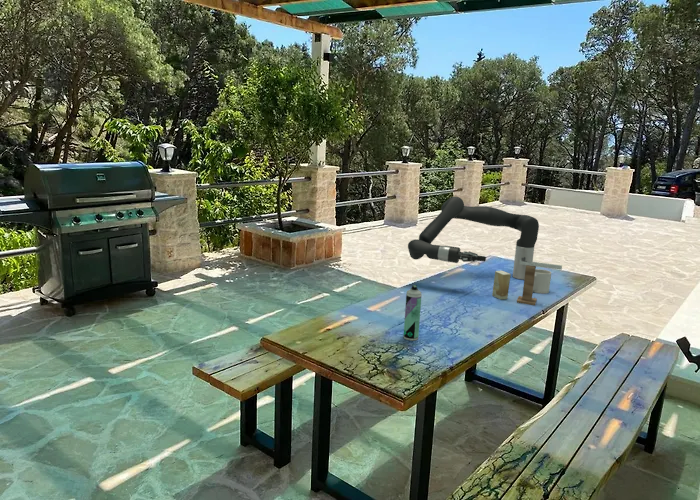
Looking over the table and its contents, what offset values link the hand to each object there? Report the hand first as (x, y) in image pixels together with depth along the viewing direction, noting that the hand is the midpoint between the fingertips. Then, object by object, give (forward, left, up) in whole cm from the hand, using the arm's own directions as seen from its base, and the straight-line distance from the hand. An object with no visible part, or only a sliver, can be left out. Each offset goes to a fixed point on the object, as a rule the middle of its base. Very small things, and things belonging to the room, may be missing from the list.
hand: (485, 259), depth 253 cm
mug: (-21, +23, -18) cm, 36 cm away
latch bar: (0, +24, 0) cm, 24 cm away
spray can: (+69, -14, -18) cm, 72 cm away
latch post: (0, +20, -17) cm, 27 cm away
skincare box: (0, +8, -18) cm, 19 cm away
